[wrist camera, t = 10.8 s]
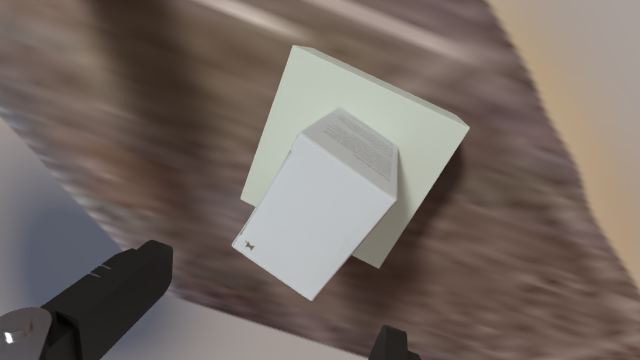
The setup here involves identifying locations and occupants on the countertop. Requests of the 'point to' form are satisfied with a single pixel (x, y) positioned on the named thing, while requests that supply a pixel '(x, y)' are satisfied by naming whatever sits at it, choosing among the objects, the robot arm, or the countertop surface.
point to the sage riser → (374, 110)
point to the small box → (322, 202)
